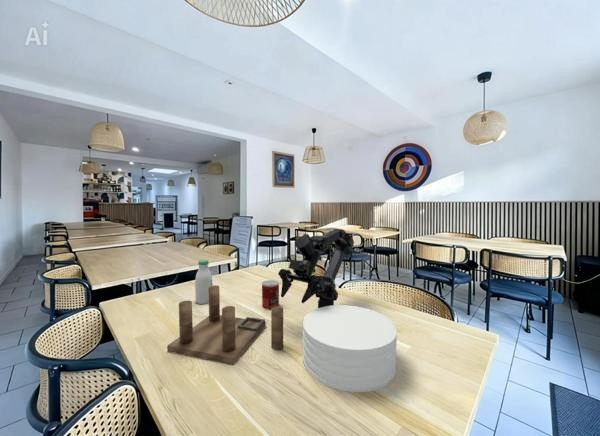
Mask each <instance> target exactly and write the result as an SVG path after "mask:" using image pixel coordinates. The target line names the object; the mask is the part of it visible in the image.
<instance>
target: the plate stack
mask: <svg viewBox="0 0 600 436" xmlns="http://www.w3.org/2000/svg"><path fill="white" fill-rule="evenodd" d="M397 338H398V330H397V327H396V325H395V324H394V322H393V321H392V320H391V319H390V318H388V317H387V316H386V315H384V314H382V313H380V312H378V311H376V310H372V309H369V308H366V307H362V306H356V305H345V304H337V305H336V304H334V305H333V306H325V307H321V308H318V307H317V308H315V309H313V310H311V311H310V312H307V314H306V315H305V316H304V318H303V320H302V363H303V366H304V368H305V370H306V372H308V374H309V375H310V376H311V377H312V378H314V379H315V380H317V381H318V382H320V383H321V384H323V385H325V386H327V387H330V388H333V389H335V390H338V391H339V390H340V391H342V392H343V391H344V392H349V393H350V392H351V393H364V392H372V391H376V390H378V389H381V387H382V388H384V387H385V386H387V385H388V384H389V383H390V382H391V381H392V380H393V379H394V377H395V375H396V369H397V368H396V367H397V365H396V364H397V361H396V360H397Z"/></svg>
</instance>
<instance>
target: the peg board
mask: <svg viewBox="0 0 600 436" xmlns="http://www.w3.org/2000/svg"><path fill="white" fill-rule="evenodd" d="M220 296H221V295H220V286H219V285H212V286H210V287H209V303H208V315H207V317H205V318H204V319H203V320H201V321H200V322H199V323H197V324H195V325H194V326H193V301H192V300H182V301H180V302H179V303H178V322H179V325H178V326H179V328H178V329H179V337H178V338H175V340H173V341H171V342H170V343H169V344H167V352H168V353H174V354H179V355H184V356H189V357H194V358H199V359H203V360H204V359H205V360H210V361H214V362H219V363H224V364H231V365H235V364H236V363H237V362H238V360H239V359H240V358H241V357H242V355H243V354H245V352H246V351H247V349H249V347H251V345H252V343H254V341H256V339H257V338H258V337H259V336H260V334H261V333H262V332H263V331H264V329H265V328H266V327H267V325H266V323H267V322H266V319H265V318H264V319H263V318H258V317H250V316H247V317H246V318H242V317H236V307H235V306H233V305H227V306H223V307H222V308H220V304H221V303H220V301H221V299H220ZM220 313H221V314H220Z"/></svg>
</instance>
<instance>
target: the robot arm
mask: <svg viewBox="0 0 600 436" xmlns="http://www.w3.org/2000/svg"><path fill="white" fill-rule="evenodd" d="M332 243H334V247H335V251H334V253H333V255H332V258H331V259H330V263H329V265H328V267H327V268H326V272H325V273H324V275H314V273H316V271H317V270H316V267H317V265H318V262H319V261H322V260H323V258H322V254H321V253H320V252H326V251H327V250H328V249H329V248H330V245H331V244H332ZM354 245H355V242H354V239H353V237H352V236H351V235H350V234H348V233H347V232H346V231H345V230H344V229H342V228H341V229H340V228H334V229H333V230H331V231H329V232H327V233H325V234H322V235H312V236H310V234H309V233H304V234H303V235H302V236H300V237H298V238H297V239H295V242H294V247H296V249H297V250H298V252H299V254H300V255H301V256H303V258H302V260H296V259H295V260H294V259H290V261H289V265H288V269H285V268H281V269H280V270H279V271H278V273H277V274H278V276H279V277H280V279H281V281H282V282H281V283H282V285H281V292H280V297H281V298H284V297H285V296H286V294H287V293H288V291H289V290H290V289H291V286H292V285H293V284H292V283H293V282H294V281H297V282H303V283H306V284H307V288H306V290H305V292H304V294H303V295H302V298H301V304H305V303H306V302H307V301H308V300H309V299H310V298H311V297H313V296H314V295H315V298H318V300H317V309H318V308H321V307H325V306H333V305H335V301H338V298H339V293H338V291H337V290H336V288H337V287H336V282H335V280H336V279H337V275H338V273H339V270H340V268H341V266H342V264H343V261H344V259H345V255H347V254H349V253H350V252H351V251H352V249H353V247H354ZM290 269H291V270H292V272H293V273H294V274H293V273H292V272H291V270H290Z"/></svg>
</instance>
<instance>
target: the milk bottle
mask: <svg viewBox="0 0 600 436" xmlns="http://www.w3.org/2000/svg"><path fill="white" fill-rule="evenodd" d="M197 264H198V269H197V272H196V275H195V278H194V279H195V282H194V284H195V286H194V287H195V289H194V291H195V293H194V294H195V303H196V304H198V305H205V304H209V287H210V286H213V276H212V272H211V270H210V268H209V260H208V259H200V260H198V263H197Z"/></svg>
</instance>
